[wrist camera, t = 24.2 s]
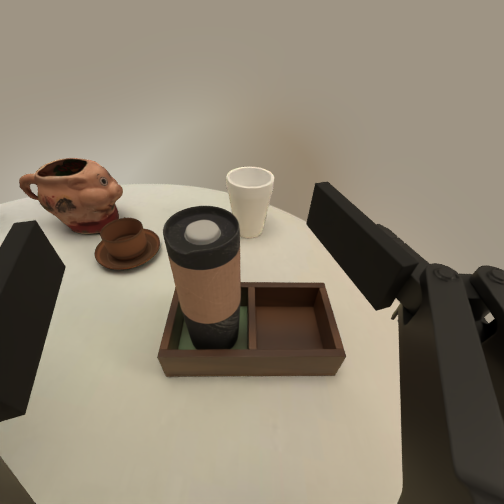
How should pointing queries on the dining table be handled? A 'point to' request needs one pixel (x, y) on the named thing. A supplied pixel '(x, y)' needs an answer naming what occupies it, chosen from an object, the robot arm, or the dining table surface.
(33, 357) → the robot arm
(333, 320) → the divided box
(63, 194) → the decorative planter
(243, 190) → the foam cup
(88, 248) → the dining table surface
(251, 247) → the dining table surface
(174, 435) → the dining table surface
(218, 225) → the travel mug
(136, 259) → the cup and saucer
